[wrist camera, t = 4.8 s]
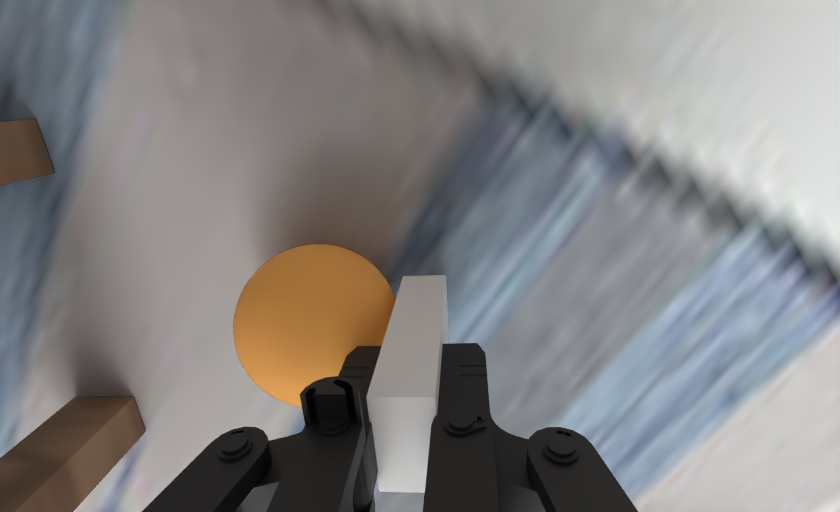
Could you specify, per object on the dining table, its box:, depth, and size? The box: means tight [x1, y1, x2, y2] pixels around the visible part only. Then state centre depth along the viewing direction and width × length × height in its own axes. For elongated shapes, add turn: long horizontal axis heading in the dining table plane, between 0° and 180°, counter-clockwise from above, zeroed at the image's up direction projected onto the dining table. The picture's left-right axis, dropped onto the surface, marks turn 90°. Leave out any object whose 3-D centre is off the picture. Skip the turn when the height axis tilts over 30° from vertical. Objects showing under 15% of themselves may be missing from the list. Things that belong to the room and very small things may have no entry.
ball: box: [233, 244, 396, 407], centre depth 16 cm, size 6×6×6 cm
